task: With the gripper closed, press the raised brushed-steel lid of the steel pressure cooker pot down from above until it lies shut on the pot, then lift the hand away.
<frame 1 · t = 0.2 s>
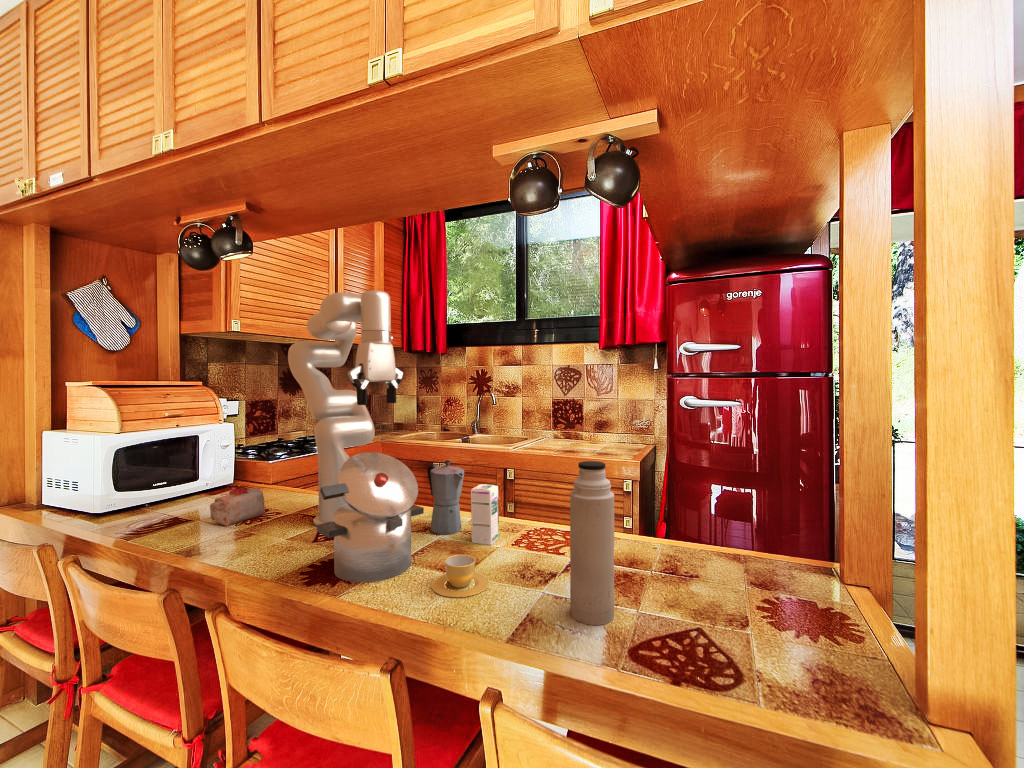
hand: (377, 404, 121), 37 cm above the counter, tool pointing down, fingers open, 9 cm apart
pot: (373, 566, 106), on the counter
thermos bottle: (592, 614, 85), on the counter
syrup box: (485, 541, 123), on the counter
lid: (371, 483, 102), point 20 cm above the counter, hinge at 40.0°
cup: (460, 586, 97), on the counter
food item: (238, 520, 141), on the counter
moka pot: (444, 530, 132), on the counter
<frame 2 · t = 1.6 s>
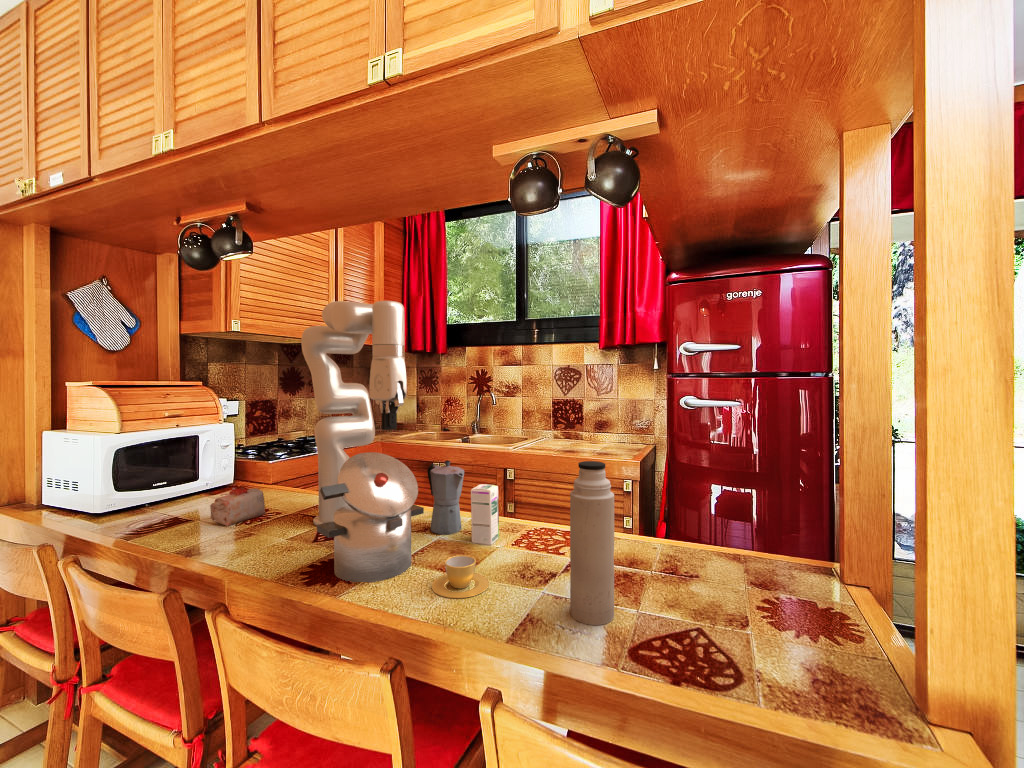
hand: (389, 429, 111), 31 cm above the counter, tool pointing down, fingers closed
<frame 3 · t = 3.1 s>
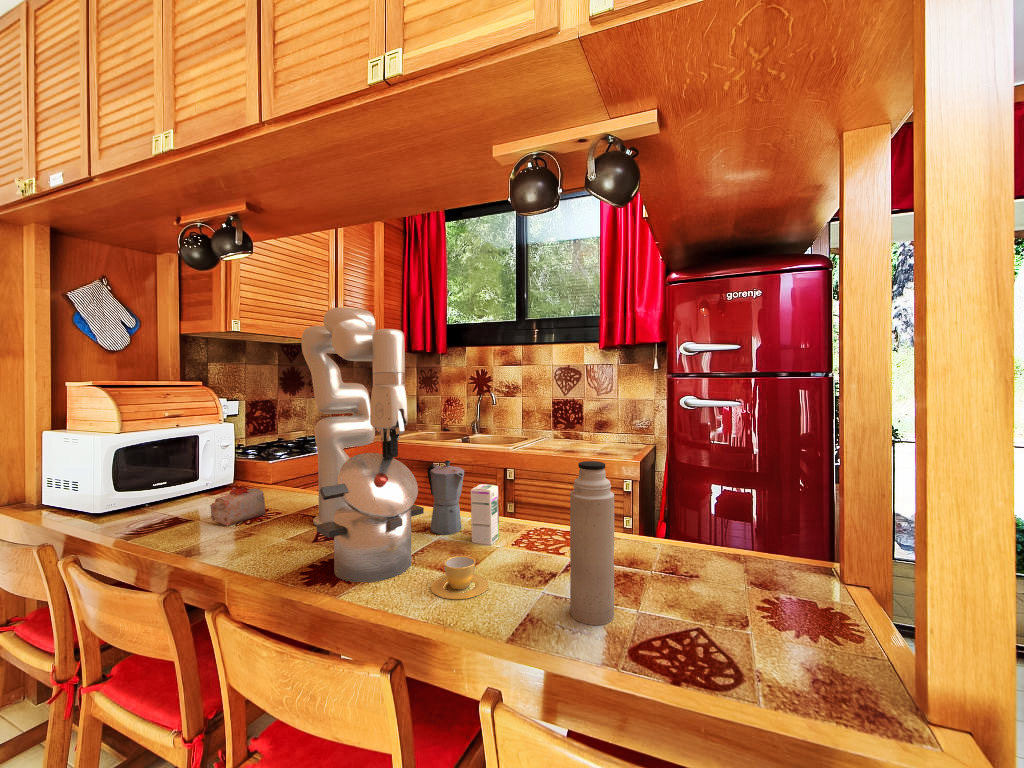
hand: (390, 456, 111), 24 cm above the counter, tool pointing down, fingers closed
lid: (371, 483, 102), point 20 cm above the counter, hinge at 39.3°, touching gripper
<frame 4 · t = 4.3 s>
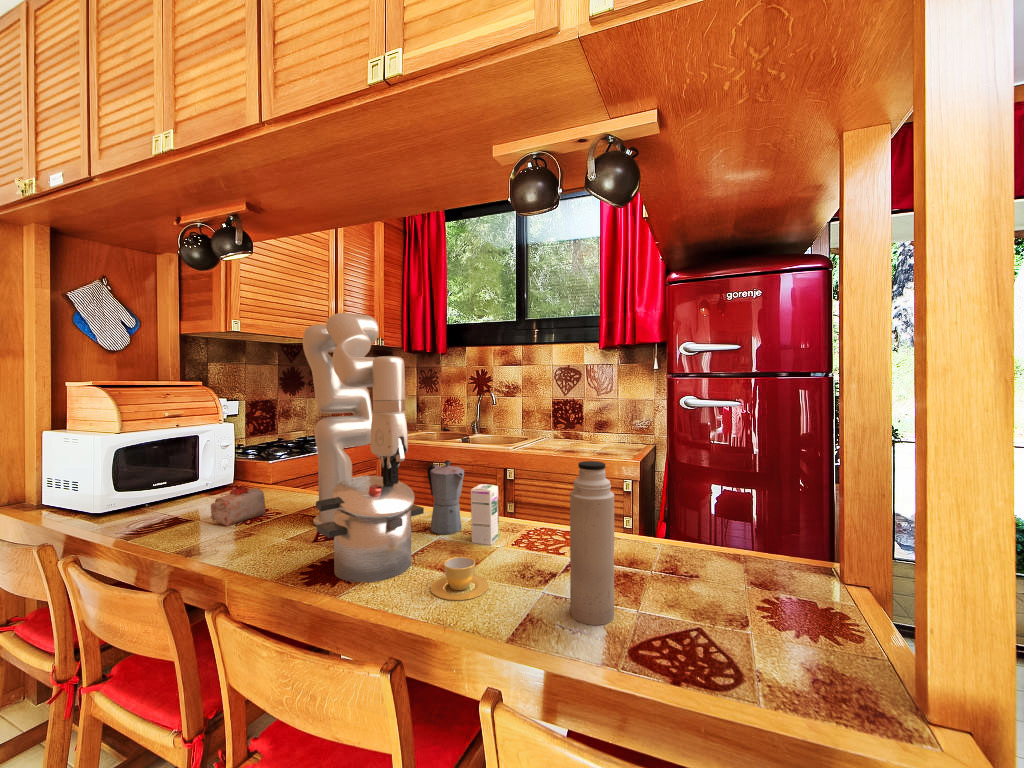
hand: (390, 483, 111), 18 cm above the counter, tool pointing down, fingers closed
lid: (366, 495, 104), point 17 cm above the counter, hinge at 15.6°, touching gripper
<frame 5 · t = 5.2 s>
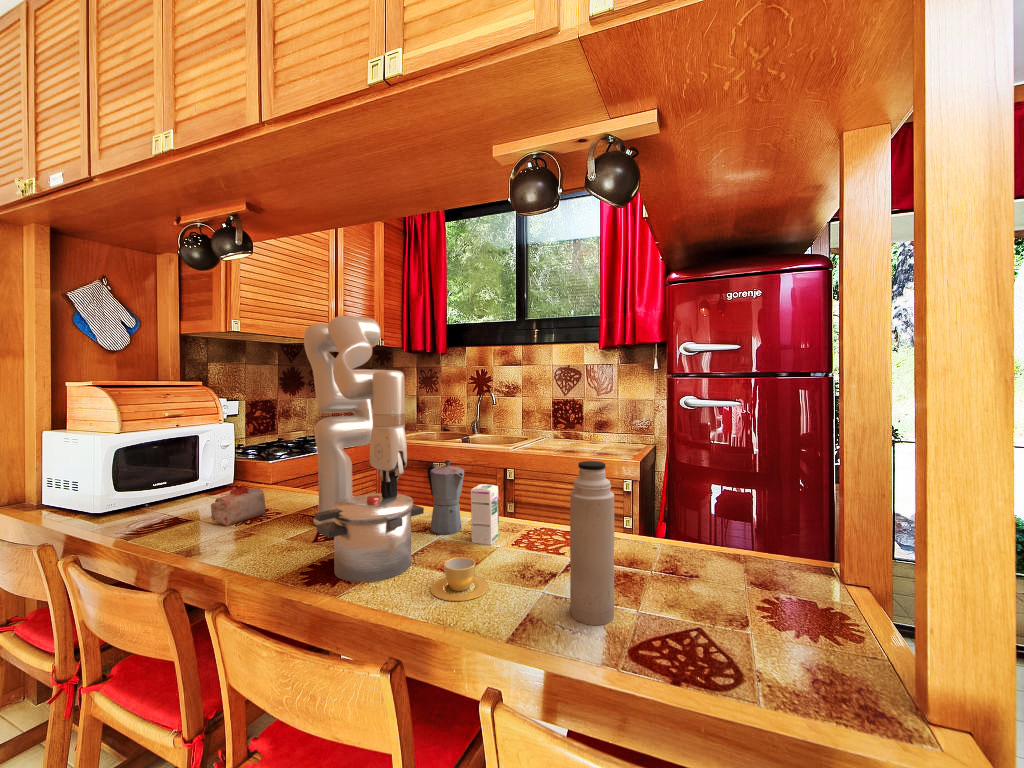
hand: (389, 496, 111), 15 cm above the counter, tool pointing down, fingers closed
lid: (365, 505, 105), point 15 cm above the counter, hinge at -0.2°, touching gripper
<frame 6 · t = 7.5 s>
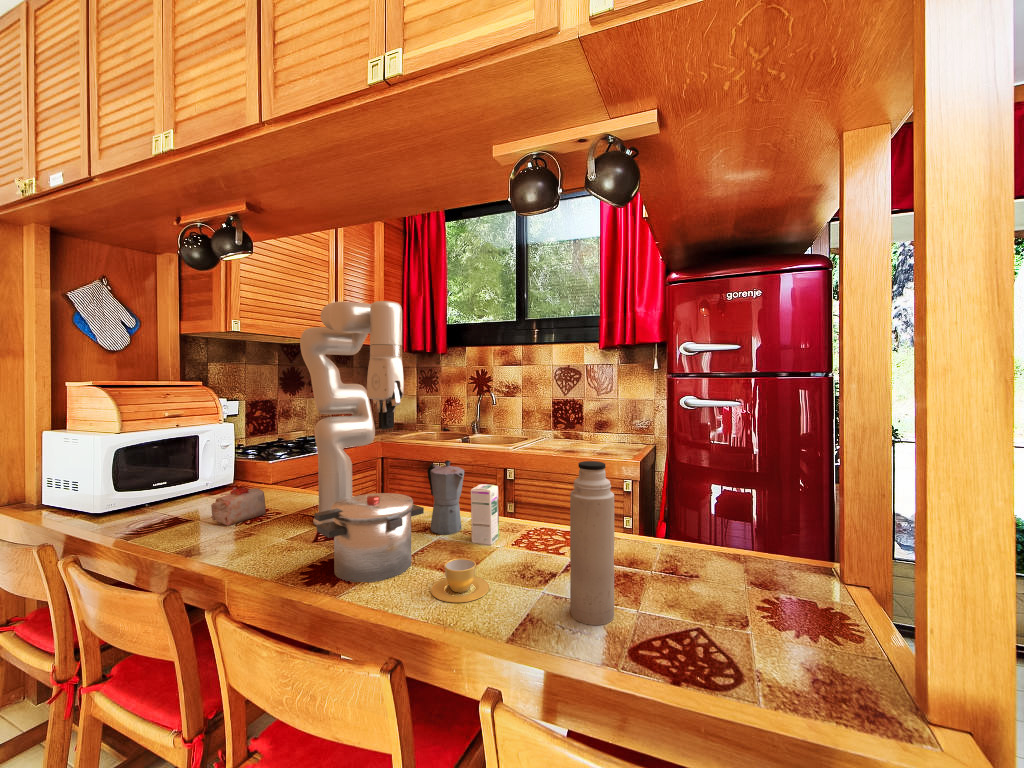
hand: (386, 428, 112), 31 cm above the counter, tool pointing down, fingers closed
lid: (365, 505, 105), point 15 cm above the counter, hinge at -0.2°
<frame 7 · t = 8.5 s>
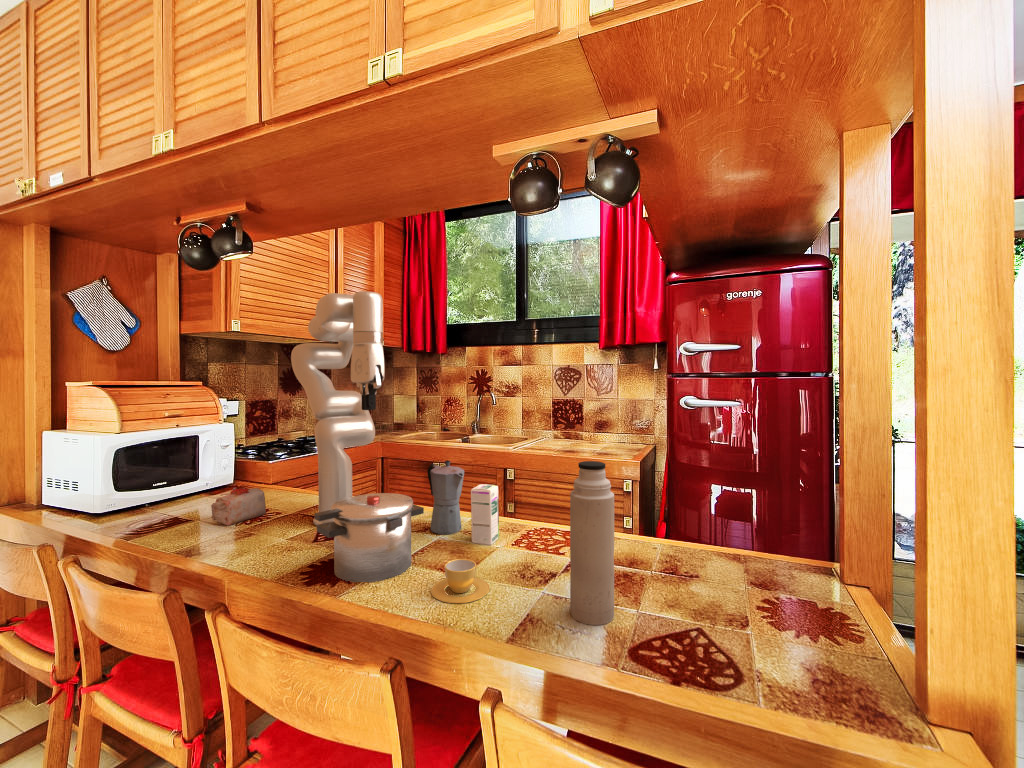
hand: (368, 409, 121), 35 cm above the counter, tool pointing down, fingers closed
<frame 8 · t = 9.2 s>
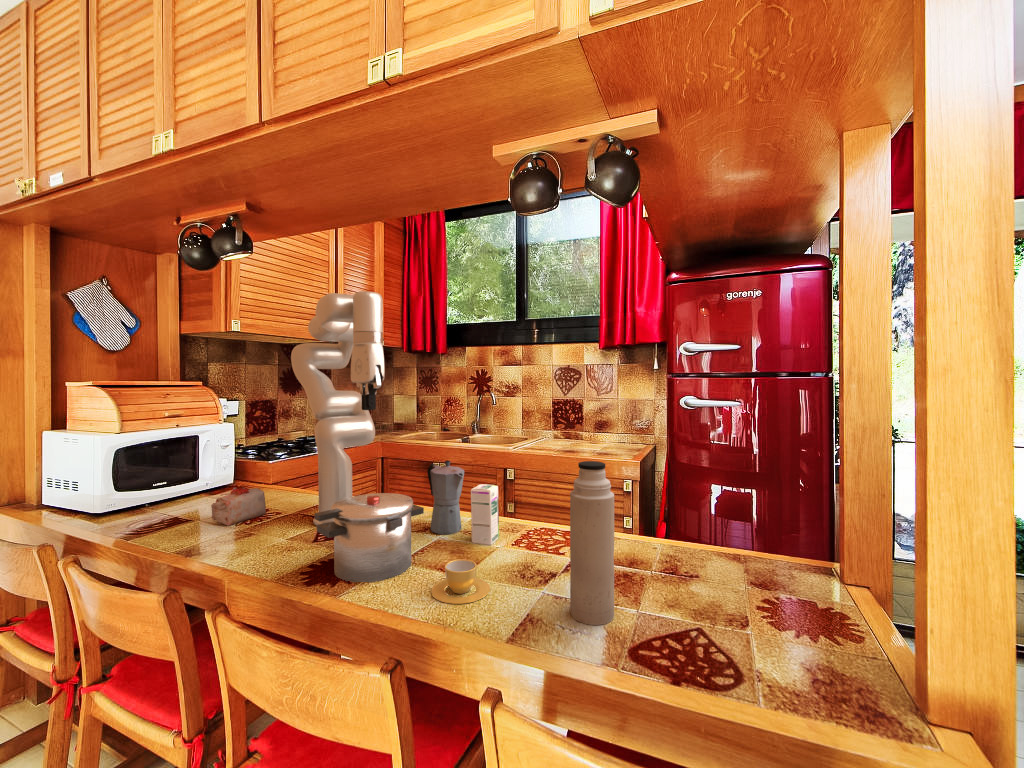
hand: (368, 409, 121), 35 cm above the counter, tool pointing down, fingers closed
at the end: lid at +0° (first picture: +40°); moka pot moved 0.2 cm from its start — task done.
